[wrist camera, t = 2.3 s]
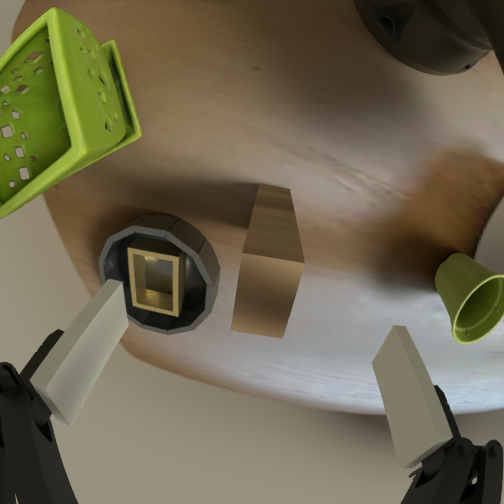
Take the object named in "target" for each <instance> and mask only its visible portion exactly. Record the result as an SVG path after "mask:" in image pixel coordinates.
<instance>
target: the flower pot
mask: <svg viewBox="0 0 504 504" xmlns="http://www.w3.org/2000/svg"><path fill="white" fill-rule="evenodd" d="M47 37H49V39H47ZM32 52H40V53H41V54H40V55H39V57H38V58H37V59H36V60H25V59H26V58H27V57H28V56H29V55H30V54H31V53H32ZM52 60H53V62H52ZM38 67H41V69H39V70H38V71H34V70H35V69H36V68H38ZM13 69H17V70H14V71H12V70H13ZM16 76H22V77H21V78H15V77H16ZM6 85H8V86H9V88H8V89H7V90H6V91H5V92H1V91H0V114H1V116H0V219H1V218H4V217H5V216H7V215H9V214H11V213H12V212H14V211H15V210H17V209H19V208H21V207H22V206H23V205H25V204H26V203H28V202H29V201H31V200H32V199H34V198H35V197H37V196H38V195H40V194H41V193H43V192H44V191H46V190H47V189H49V188H50V187H52V186H53V185H55V184H56V183H58V182H59V181H61V180H63V179H65V178H67V177H69V176H71V175H72V174H74V173H76V172H78V171H79V170H81V169H83V168H85V167H87V166H89V165H91V164H92V163H94V162H96V161H98V160H100V159H101V158H103V157H105V156H107V155H109V154H111V153H113V152H115V151H116V150H118V149H120V148H122V147H124V146H126V145H128V144H130V143H132V142H134V141H135V140H137V139H139V138H140V137H141V136H142V129H141V126H140V122H139V119H138V116H137V112H136V109H135V105H134V102H133V99H132V96H131V92H130V89H129V85H128V82H127V79H126V75H125V71H124V68H123V64H122V60H121V56H120V53H119V49H118V46H117V44H116V42H115V40H110V41H108V42H106V43H104V44H103V45H100V43H99V41H98V40H97V38H96V37H95V35H94V34H93V33H92V31H91V30H90V29H89V28H88V27H87V26H86V25H85V24H84V23H82V22H81V21H80V20H79V19H77V18H76V17H74V16H72V15H71V14H69V13H67V12H65V11H63V10H61V9H59V8H55V7H53V8H51V9H50V10H48V11H47V12H46V13H44V14H43V15H42V16H41V17H40V18H38V19H37V20H36V21H35V22H34V23H33V24H32V25H31V26H30V27H28V28H27V29H26V30H25V31H24V32H23V33H22V34H21V35H20V36H19V37H18V39H17V40H16V41H15V42H14V43H13V44H12V45H11V46H10V47H9V48H8V49H7V51H6V52H5V53H4V54H3V55H2V57H1V58H0V89H1V88H3V87H4V86H6ZM21 85H26V86H28V87H27V88H26V89H25V90H24V91H23V92H19V91H16V89H17V88H18V87H19V86H21ZM3 103H7V105H4V104H3ZM13 111H14V112H18V113H19V114H20V117H19V119H15V118H13V117H12V112H13ZM6 126H10V127H11V129H12V132H13V136H11V137H8V138H4V137H3V133H2V130H1V128H3V127H6ZM21 134H25V137H26V139H23V138H22V137H21ZM19 147H21V148H22V149H23V153H24V157H20V158H18V157H17V155H16V150H15V148H19ZM5 155H7V156H8V157H9V158H10V160H8V161H7V160H6V159H5V157H4V156H5ZM31 157H35V158H36V161H32V160H31ZM23 167H26V168H27V169H28V172H29V177H30V178H29V179H26V180H22V179H21V177H20V172H19V169H20V168H23ZM11 181H12V182H15V185H14V187H10V186H9V184H10V182H11Z"/></svg>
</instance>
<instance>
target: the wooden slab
mask: <svg viewBox="0 0 504 504" xmlns="http://www.w3.org/2000/svg"><path fill="white" fill-rule="evenodd" d="M304 264H305V263H304V257H303V252H302V247H301V241H300V236H299V231H298V226H297V221H296V216H295V211H294V207H293V202H292V197H291V193H290V189H286V188H280V187H275V186H269V185H264V184H259V187H258V191H257V195H256V199H255V203H254V207H253V211H252V215H251V220H250V224H249V228H248V232H247V236H246V240H245V244H244V248H243V252H242V258H241V265H240V271H239V278H238V285H237V291H236V298H235V305H234V311H233V318H232V325H231V330H233V331H238V332H244V333H250V334H256V335H263V336H270V337H276V338H283V335H284V332H285V329H286V326H287V323H288V319H289V316H290V313H291V309H292V306H293V303H294V299H295V296H296V292H297V289H298V285H299V282H300V278H301V275H302V271H303V268H304Z"/></svg>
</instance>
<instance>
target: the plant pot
mask: <svg viewBox="0 0 504 504" xmlns="http://www.w3.org/2000/svg"><path fill="white" fill-rule="evenodd" d="M435 286H436V288H437V291H438V293H439V295H440V297H441V299H442V301H443V303H444V305H445V307H446V309H447V311H448V314H449V316H450V320H451V325H452V335H453V338H454V339H455V341H456V342H458V343H460V344H470V343H474V342H476V341H478V340H480V339H482V338H483V337H485V336H486V335H487V334H489V333H490V332H491V331H492V330H493V329H494V328H495V327H496V326H497V325H498V323H499V322H500V321H501V319H502V318H503V316H504V274H497V273H495V272H491V271H490V270H488V269H487V268H485V267H484V266H482V265H481V264H479V263H477V262H476V261H474V260H473V259H471V258H470V257H468V256H467V255H465V254H463V253H454V254H452V255H450V256H449V258H448V259H447V260H445V261H444V262H443V263H441V264H440V266H439V268H438V270H437V272H436V275H435Z"/></svg>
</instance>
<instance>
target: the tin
mask: <svg viewBox="0 0 504 504" xmlns="http://www.w3.org/2000/svg"><path fill="white" fill-rule="evenodd" d="M98 265H99V272H100V279H101V285H102V286H103V285H104V284H105V283H106V281H107V280H108V279H112V280H116V281H121V282H122V283H123V291H124V299H125V306H126V313H127V318H128V319H129V320H131V321H132V322H134V323H135V324H136V325H138V326H139V327H142V328H143V329H147V330H151V331H155V332H159V333H163V334H167V335H171V334H177V333H182V332H187V331H191V330H195V329H196V328H197V327H198V326H199V325H200V323H201V322H202V321H203V320H204V319H205V318H206V317H207V316H208V315H209V314H210V313H211V312H212V308H213V305H214V302H215V299H216V296H217V291H218V283H219V274H220V266H219V264H218V260H217V257H216V255H215V252H214V250H213V248H212V247H211V245H210V243H209V242H208V241H207V239H206V238H205V237H204V236H203V235H202V234H201V233H200V232H199V231H198V230H197V229H196V228H195V227H193V226H192V225H190V224H189V223H187V222H185V221H183V220H181V219H179V218H177V217H174V216H170V215H166V214H146V215H143V216H141V217H138V218H136V219H134V220H133V221H131V222H129V223H127V224H125V225H123V226H122V227H121V228H119V229H118V230H117V231H116V232H114V233H113V234H112V235H111V236H110V237H109V238H108V239H107V241H106V244H105V246H104V248H103V250H102V252H101V255H100V257H99V259H98Z"/></svg>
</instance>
